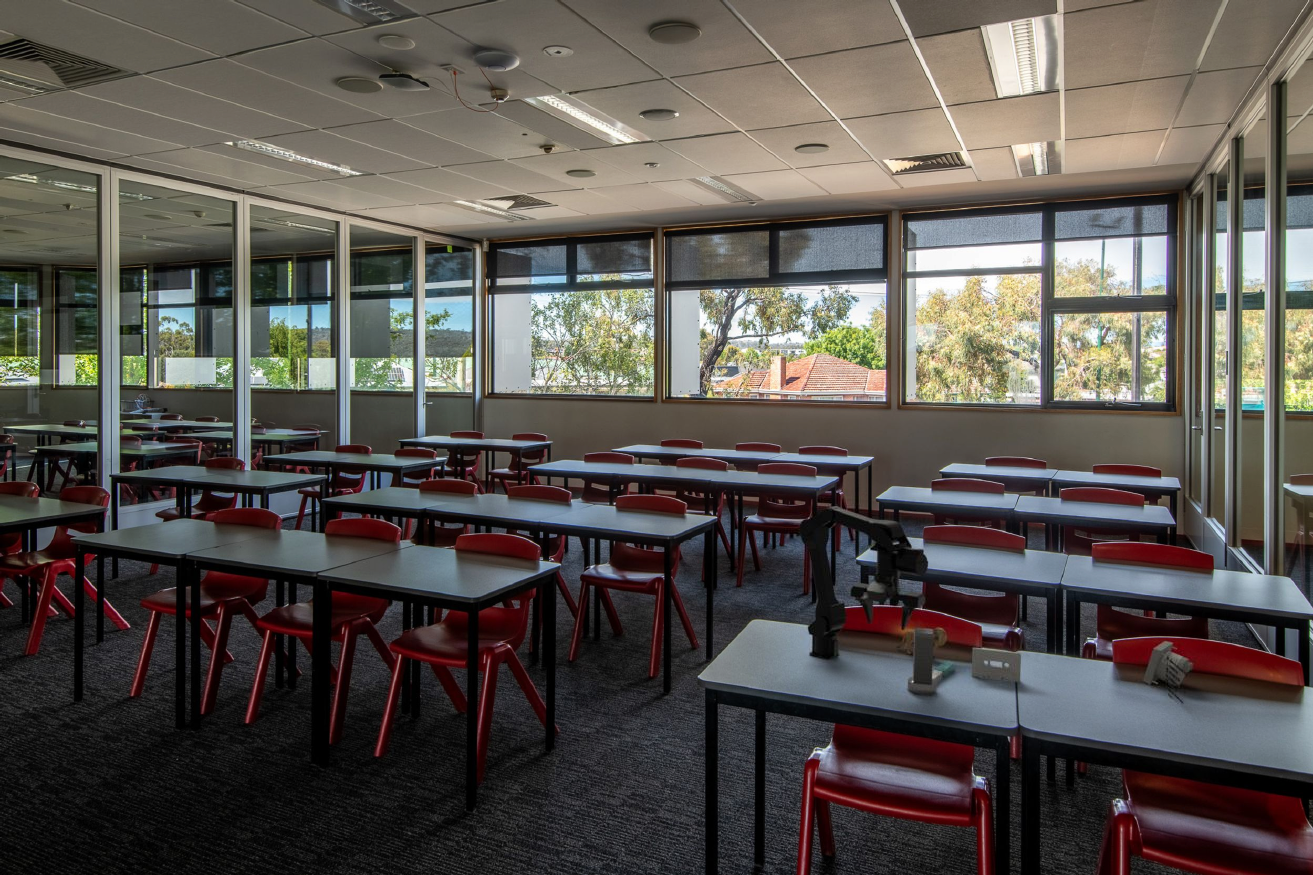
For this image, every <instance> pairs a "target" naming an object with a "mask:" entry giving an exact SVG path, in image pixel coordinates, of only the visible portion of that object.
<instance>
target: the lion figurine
mask: <svg viewBox="0 0 1313 875" xmlns="http://www.w3.org/2000/svg"><path fill="white" fill-rule="evenodd" d="M932 630H933V650H938V648H939V647H941V646H944V645H945V644H946V643H947V642H946V641H947V637H948V636H947V634H946V632H947V631H945V630H944V628H942V627H935V628H934V629H933V628H932ZM905 640H906V641H905ZM912 643H914V629H907V630H906V631H905V632H904V634H903V637H902V641H901V643H900V644H899V645H897V646H895V647H896V648H897V649H900V648H901V647H902V646H903V645H904V650H906V649H907V650H906V653H908V654H907V655H912V654H913V652H912V651H910V647H911V644H912ZM933 656H934V657H935V655H934V654H933Z"/></svg>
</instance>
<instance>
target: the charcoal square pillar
mask: <svg viewBox="0 0 1313 875" xmlns="http://www.w3.org/2000/svg"><path fill="white" fill-rule="evenodd" d="M913 630H914V641H913V658H912V659H913V660H912V661H913V664H912V677H913V683H917V684H927V685H932V672H933V665H934V664H933V659H934V657H933V655H934V649H933V628H923V627H914V629H913Z"/></svg>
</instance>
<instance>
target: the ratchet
mask: <svg viewBox="0 0 1313 875" xmlns="http://www.w3.org/2000/svg"><path fill="white" fill-rule="evenodd" d="M954 671H955V662H951V661H949V660H948V661H947V660H944V661H943V662H942V663H940V664H939V665H938V666H937V667H935V668H934V670H932V685H927V684H917V683H913V676H910V677H908V678H907V691H908V692H909V693H911V694H913V695H916V696H917V695H918V696H922V697H923V696H924V697H931V696H935V695H936V694H937V687H938V686H937V684H938V683H939V682H941V680H943V679H945V678H946V677H947V676H949V675H950V674H951V673H952V672H954Z"/></svg>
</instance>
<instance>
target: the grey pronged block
mask: <svg viewBox="0 0 1313 875" xmlns="http://www.w3.org/2000/svg"><path fill="white" fill-rule="evenodd" d="M1173 644H1174V642H1171V641H1166V640H1165V641H1163V642H1162V643H1160V644H1158V645H1157V646H1155V647H1153V650H1152V652H1151V656H1150V659H1149V662H1148V665H1147V668H1146V670H1145V673H1144V677H1143V682H1144V683H1146V684H1147V685H1152V684H1153V683H1154V684H1156V685H1158V682H1157V680H1161V681H1163V682H1165V683H1166V684H1165V686H1164V688H1165V690H1166V691H1168V692H1167V695H1168V697H1169V698H1170V699H1172V698H1173V696H1174V697H1175V699H1177V700H1178V701H1179V702H1181V704H1182V705H1184V703H1185V702H1184V701H1183V700H1182V699H1181V698H1180V697H1179V696H1177V694H1176V693H1177V689H1176V687H1177V688H1178V689H1179V690H1181V691H1182V692H1183V693H1184V694H1186V691H1185V690H1184V688H1183V687H1182V686H1180V685H1181V683H1182V682H1183V680H1184V678H1185V676H1186V677H1188V676H1189V674H1188V673H1189V672H1190V671H1191V670H1193V666H1194V663H1193V662H1190V660H1189V659H1188V658H1187V657H1184V656H1182V655H1180V654H1177V653H1175V652H1172V649H1174V650H1177V649H1178V648H1177V647H1175V646H1173ZM1168 686H1170V688H1172V689H1173V690H1174V691H1175V692H1176V693H1174V692H1173V691H1172V690H1171V689H1170V688H1168ZM1172 695H1173V696H1172Z"/></svg>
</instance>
